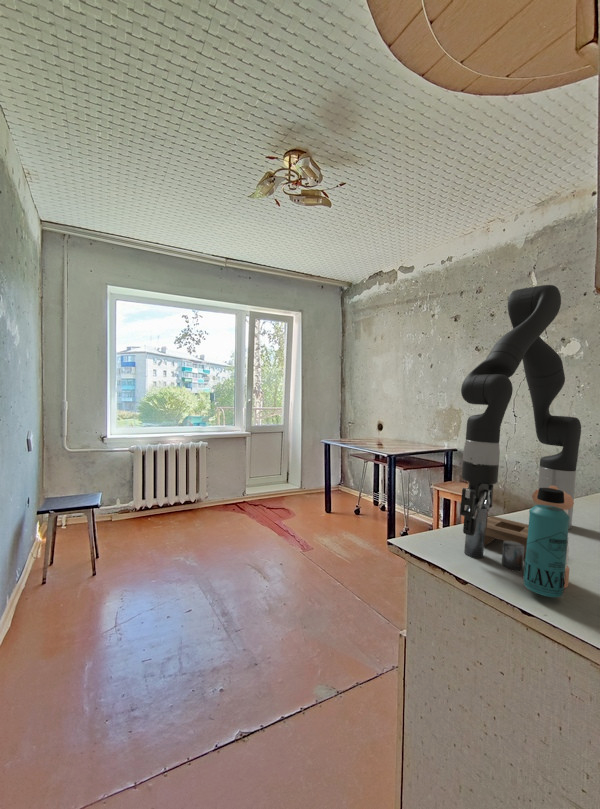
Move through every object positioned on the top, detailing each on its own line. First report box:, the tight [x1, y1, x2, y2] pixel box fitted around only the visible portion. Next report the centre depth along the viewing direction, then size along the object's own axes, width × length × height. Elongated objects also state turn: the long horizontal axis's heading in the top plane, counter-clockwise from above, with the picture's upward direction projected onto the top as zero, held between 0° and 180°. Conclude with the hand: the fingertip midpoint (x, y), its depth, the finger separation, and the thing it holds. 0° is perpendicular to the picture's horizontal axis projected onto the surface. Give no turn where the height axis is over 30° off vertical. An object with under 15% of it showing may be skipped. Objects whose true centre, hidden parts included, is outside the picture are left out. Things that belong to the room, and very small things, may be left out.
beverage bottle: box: [522, 488, 570, 598], centre depth 69 cm, size 6×7×20 cm
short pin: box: [501, 540, 525, 572], centre depth 81 cm, size 4×4×5 cm
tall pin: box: [463, 507, 488, 559], centre depth 87 cm, size 4×4×11 cm
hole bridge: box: [484, 515, 529, 560], centre depth 94 cm, size 12×12×5 cm
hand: (475, 530), depth 87 cm, fingers open, 8 cm apart
